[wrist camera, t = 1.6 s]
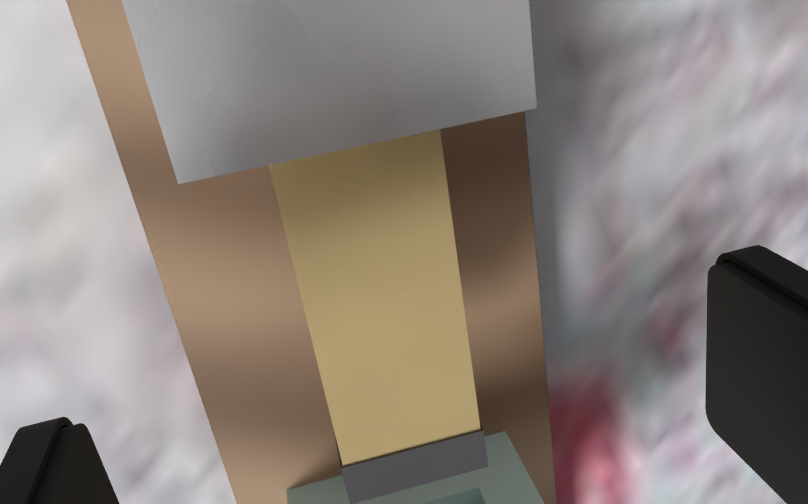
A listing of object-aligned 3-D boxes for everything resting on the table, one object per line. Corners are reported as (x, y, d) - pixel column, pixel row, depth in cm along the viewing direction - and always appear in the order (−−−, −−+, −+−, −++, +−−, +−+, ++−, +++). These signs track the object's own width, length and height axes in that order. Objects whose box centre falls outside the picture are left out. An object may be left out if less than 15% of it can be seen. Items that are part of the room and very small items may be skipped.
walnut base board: (-192, -829, 11) (-251, -933, 10) (415, -848, 13) (437, -944, 11) (286, 617, 26) (288, 655, 24) (546, 541, 27) (562, 573, 26)
